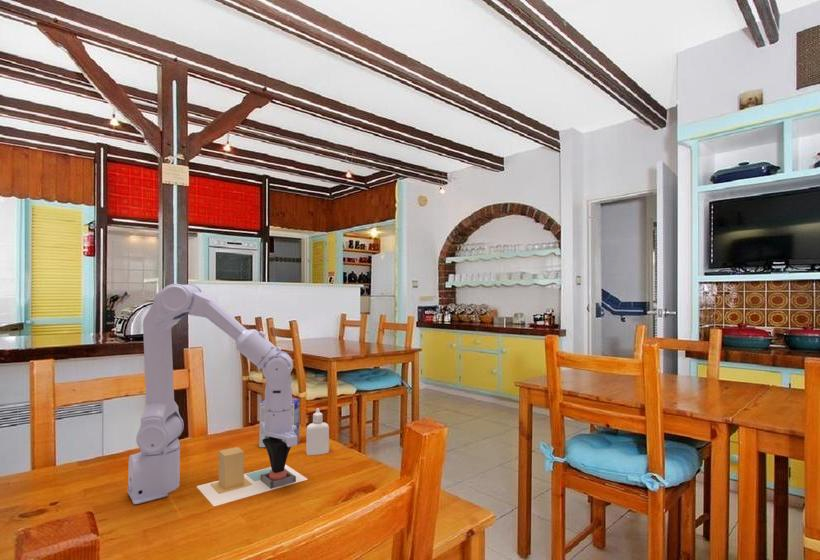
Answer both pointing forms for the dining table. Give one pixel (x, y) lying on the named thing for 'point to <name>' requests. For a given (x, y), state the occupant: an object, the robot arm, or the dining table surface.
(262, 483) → the white board with squares
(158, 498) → the robot arm
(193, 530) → the dining table surface
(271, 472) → the button
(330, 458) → the dining table surface
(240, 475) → the ochre block
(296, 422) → the ink cartridge box
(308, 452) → the eye dropper bottle
